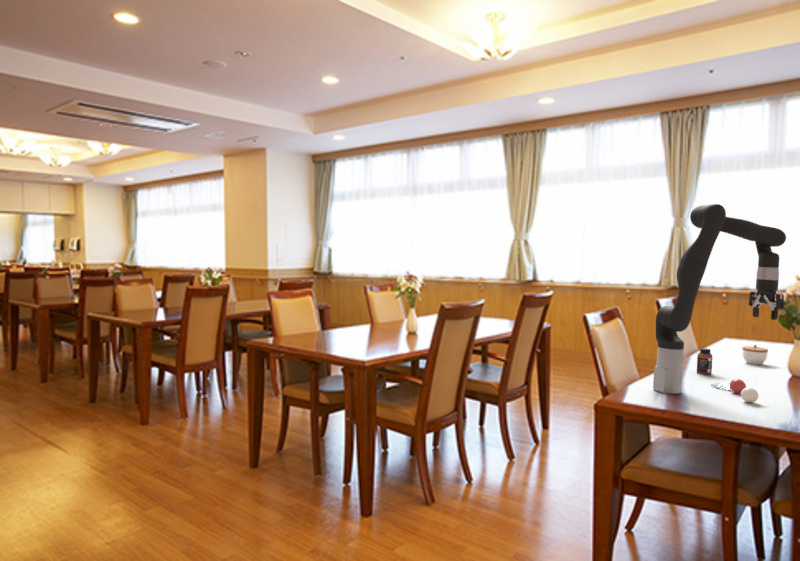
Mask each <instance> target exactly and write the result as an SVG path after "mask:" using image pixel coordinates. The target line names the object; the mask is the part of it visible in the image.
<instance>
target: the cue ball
mask: <svg viewBox="0 0 800 561" xmlns="http://www.w3.org/2000/svg"><path fill="white" fill-rule="evenodd" d="M746 387H747V386H746ZM740 397H741V399H742V400H743V401H744V402H746V403H749V404H751V403H755V402H757V400H758V399H759V393H758V391H757V390H756V389H755V388H753V387H750V386H748V387H747V388H744V389H743V390H742V391H741V393H740Z"/></svg>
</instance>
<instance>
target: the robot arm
mask: <svg viewBox="0 0 800 561" xmlns="http://www.w3.org/2000/svg"><path fill="white" fill-rule="evenodd" d="M726 213H727V212H726V209H725V208H724V206H723V205H722V204H718V203H713V204H701V205H699V206H696V207H694V208H693V209H692V210H691V213H690V216H689V218H690V219H689V220H690V222H691V224H692V225H693V226H694V227H696V228H698V229H701V230H700V232H699V234H698V236H697V237H696V238H695V240H694V242H693V243H691V245H690V246H689V247H688V248H687V250H686V251H685V252H684V253H683V254H682V256H681V258H680V260H679V261H680V262H679V264H678V267H677V270H676V280H677V287H678V295H677V299H676V302H675V304H674V306H672V305H663V306H661V307H660V308H659V309H658V311H657V313H656V316H655V340H656V342H657V351H656V365H654V366H653V382H652V385H653V386H652V390H654V391H656V392H658V393H659V392H660V393H663V394H670V395H671V394H674V395H678V394H682V389H683V388H682V385H683V368H684V353H685V352H684V351H685V349H684V348H685V343H684V340H682V339H681V338H680V337H679V335H678V333H677V332H679V333H680V332H683V331H685V330H687V328H688V327H689V325H690V322H691V320H692V315H693V311H694V308H695V307H694V306H695V303H696V299H697V295H698V293H699V289H700V286H701V283H702V280H703V276H704V274H705V271H706V268H707V265H708V263H709V262H708V261H709V259H710V256H711V254H712V251H713V249H714V246H715V243H716V241H717V239H718V237H719V235H720V233H721V232H722V233H726V234H728V235H731V236H735V237H738V238H741V239H743V240H747V241H750V242H755V247H756V252H757V255H758V256H757V257H758V261H757V262H758V263H757V271H756V280H755V282H756V283H755V290H756V291H750V292H749V297H748V306H749V307H750V306H751V308H752V318H753V317H754V318H759V317H760V307H761V306H762V305H763V304H765V305H766V304H767V305H768V306H769V307H770V309H771V311H770V312H771V313H770V320H771V321H776V320H778V317H779V311H781V310H784V305H785V303H784V302H785V301H784V299H785V298H784V297H785V295H784V294H781V293H778V294H777V292H778V289H779V281H780V280H779V279H780V278H779V277H780V269H779V268H780V255H779V254H778V253H776V252H773V251H772V248H771V247H773V248H774V247H775V248H776V247H780V246H782V245H783V244H785V243H786V240H787V236H786V233H785V232H784V231H783V230H782V229H780V228H778V227H773V226H766V225H761V224H758V223H755V222H753V221H750V220H746V219H741V218H736V217H729V216H726V215H727V214H726Z"/></svg>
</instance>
